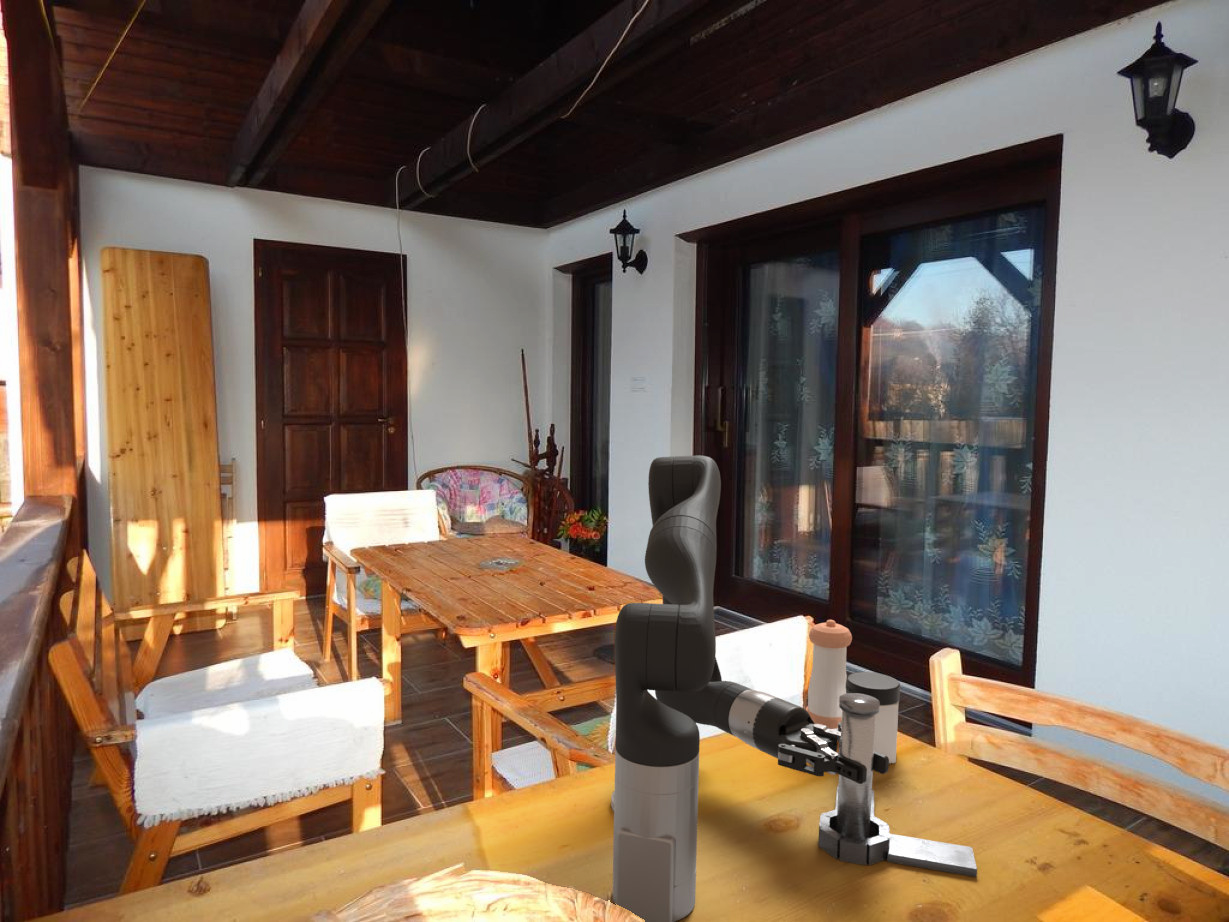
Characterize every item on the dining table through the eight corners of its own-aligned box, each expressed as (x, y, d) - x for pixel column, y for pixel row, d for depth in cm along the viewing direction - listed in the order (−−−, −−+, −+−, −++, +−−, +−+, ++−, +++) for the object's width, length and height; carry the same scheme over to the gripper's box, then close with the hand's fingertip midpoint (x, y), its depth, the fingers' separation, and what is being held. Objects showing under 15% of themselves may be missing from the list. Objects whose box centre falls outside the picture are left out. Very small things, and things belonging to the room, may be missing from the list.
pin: (872, 852, 100) (879, 709, 98) (832, 845, 101) (838, 704, 100) (872, 832, 104) (879, 696, 103) (833, 826, 106) (840, 691, 104)
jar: (845, 739, 135) (848, 668, 134) (897, 747, 132) (900, 674, 132) (840, 761, 127) (843, 685, 126) (896, 770, 124) (899, 693, 123)
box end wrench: (978, 885, 94) (979, 864, 94) (817, 856, 100) (817, 837, 100) (961, 810, 112) (962, 793, 112) (824, 789, 117) (825, 773, 117)
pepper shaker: (825, 743, 133) (830, 628, 132) (795, 727, 140) (799, 617, 138) (858, 735, 137) (862, 623, 136) (827, 719, 143) (831, 612, 142)
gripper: (734, 708, 108) (841, 755, 95) (803, 687, 117) (911, 727, 104) (732, 763, 109) (838, 817, 96) (801, 737, 118) (907, 784, 104)
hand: (875, 770), depth 100 cm, fingers closed on pin, 4 cm apart
